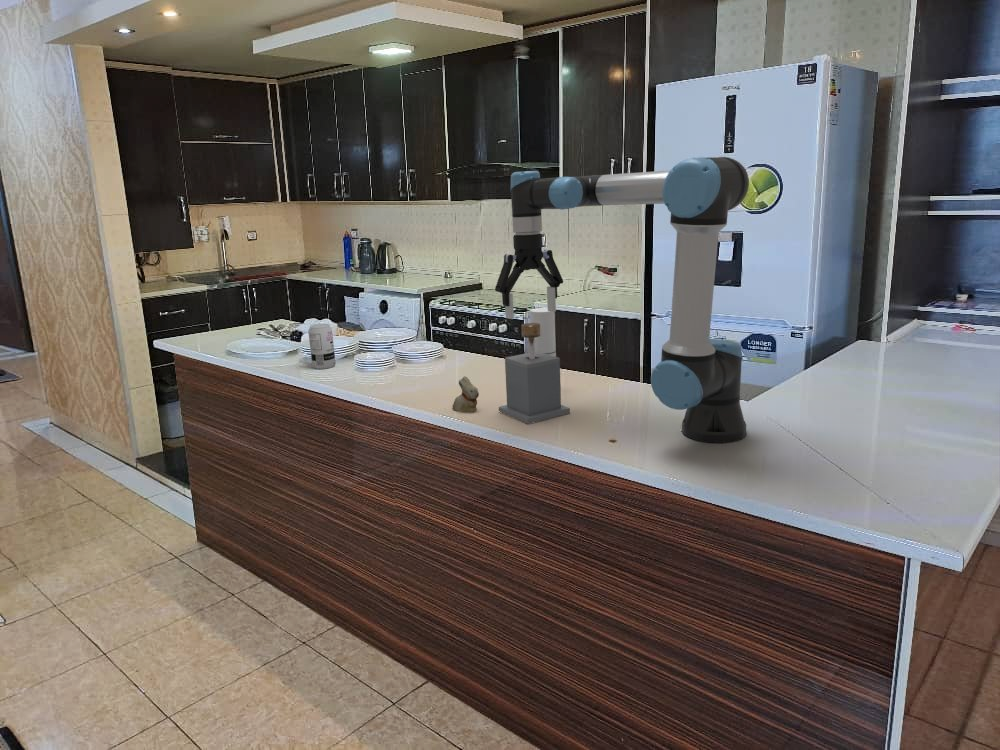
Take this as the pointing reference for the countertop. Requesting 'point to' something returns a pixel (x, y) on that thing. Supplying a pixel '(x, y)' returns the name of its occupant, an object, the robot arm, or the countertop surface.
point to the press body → (533, 388)
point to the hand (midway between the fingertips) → (531, 314)
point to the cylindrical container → (544, 330)
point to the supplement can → (321, 346)
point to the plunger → (531, 336)
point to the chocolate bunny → (466, 397)
